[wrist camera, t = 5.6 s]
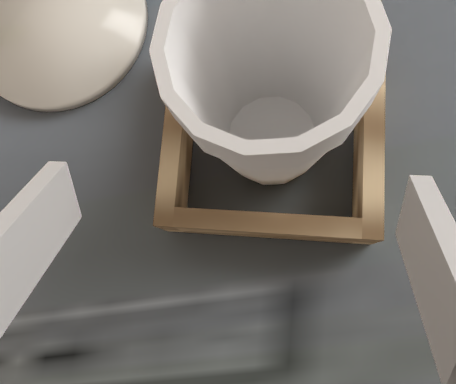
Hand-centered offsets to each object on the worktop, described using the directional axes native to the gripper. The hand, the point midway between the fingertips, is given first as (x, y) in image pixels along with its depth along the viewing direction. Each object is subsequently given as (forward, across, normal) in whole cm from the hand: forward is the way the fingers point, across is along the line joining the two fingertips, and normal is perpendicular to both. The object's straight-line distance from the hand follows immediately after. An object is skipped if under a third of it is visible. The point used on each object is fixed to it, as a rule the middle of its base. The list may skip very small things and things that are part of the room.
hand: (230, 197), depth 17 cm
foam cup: (+13, +1, -4) cm, 14 cm away
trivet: (+19, -16, +2) cm, 25 cm away
